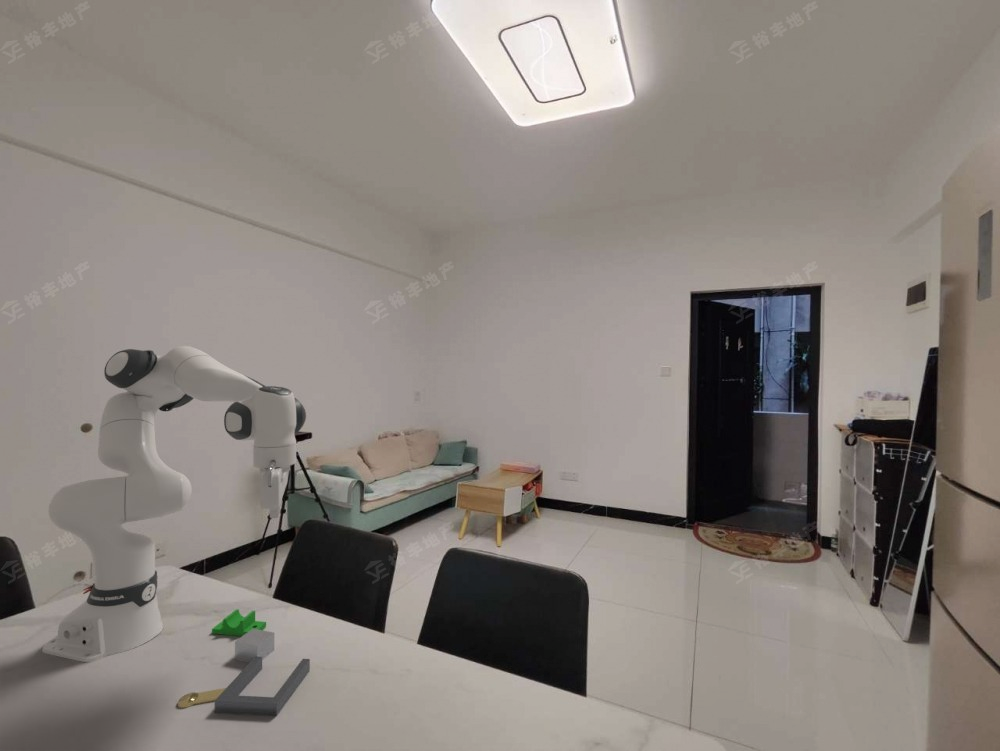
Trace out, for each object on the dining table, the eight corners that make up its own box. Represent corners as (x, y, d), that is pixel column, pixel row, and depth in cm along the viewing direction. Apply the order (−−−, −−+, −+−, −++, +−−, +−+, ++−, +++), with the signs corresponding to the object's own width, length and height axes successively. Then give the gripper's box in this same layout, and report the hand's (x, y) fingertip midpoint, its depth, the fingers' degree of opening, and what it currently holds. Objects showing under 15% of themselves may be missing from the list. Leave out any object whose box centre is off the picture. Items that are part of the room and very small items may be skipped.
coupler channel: (214, 716, 81) (214, 700, 81) (255, 670, 93) (255, 656, 93) (276, 719, 80) (276, 703, 80) (309, 672, 93) (309, 658, 93)
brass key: (175, 712, 82) (175, 706, 82) (182, 700, 85) (182, 694, 85) (222, 704, 84) (222, 697, 84) (227, 692, 87) (227, 686, 87)
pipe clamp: (266, 611, 109) (254, 621, 105) (266, 626, 109) (254, 637, 105) (225, 608, 110) (211, 618, 106) (225, 623, 110) (211, 633, 106)
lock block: (234, 661, 96) (235, 641, 96) (253, 647, 101) (253, 628, 101) (257, 666, 95) (257, 646, 95) (274, 651, 100) (274, 632, 100)
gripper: (286, 465, 91) (286, 530, 92) (293, 448, 110) (293, 502, 111) (252, 467, 89) (252, 534, 89) (265, 450, 108) (265, 505, 108)
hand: (274, 516), depth 100 cm, fingers closed
